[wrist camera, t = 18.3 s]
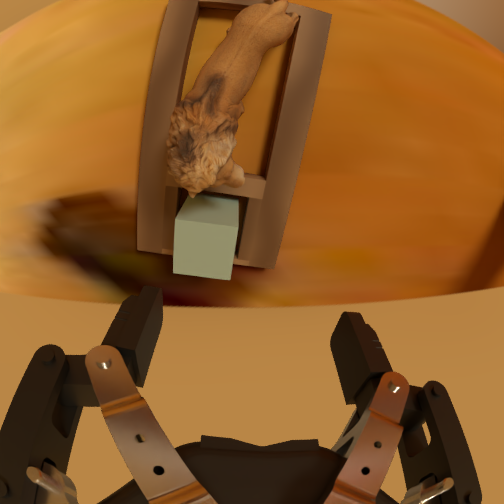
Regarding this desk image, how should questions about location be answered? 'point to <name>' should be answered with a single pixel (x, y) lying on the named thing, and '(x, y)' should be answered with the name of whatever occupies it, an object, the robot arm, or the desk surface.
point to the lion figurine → (223, 100)
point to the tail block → (206, 236)
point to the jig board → (255, 186)
